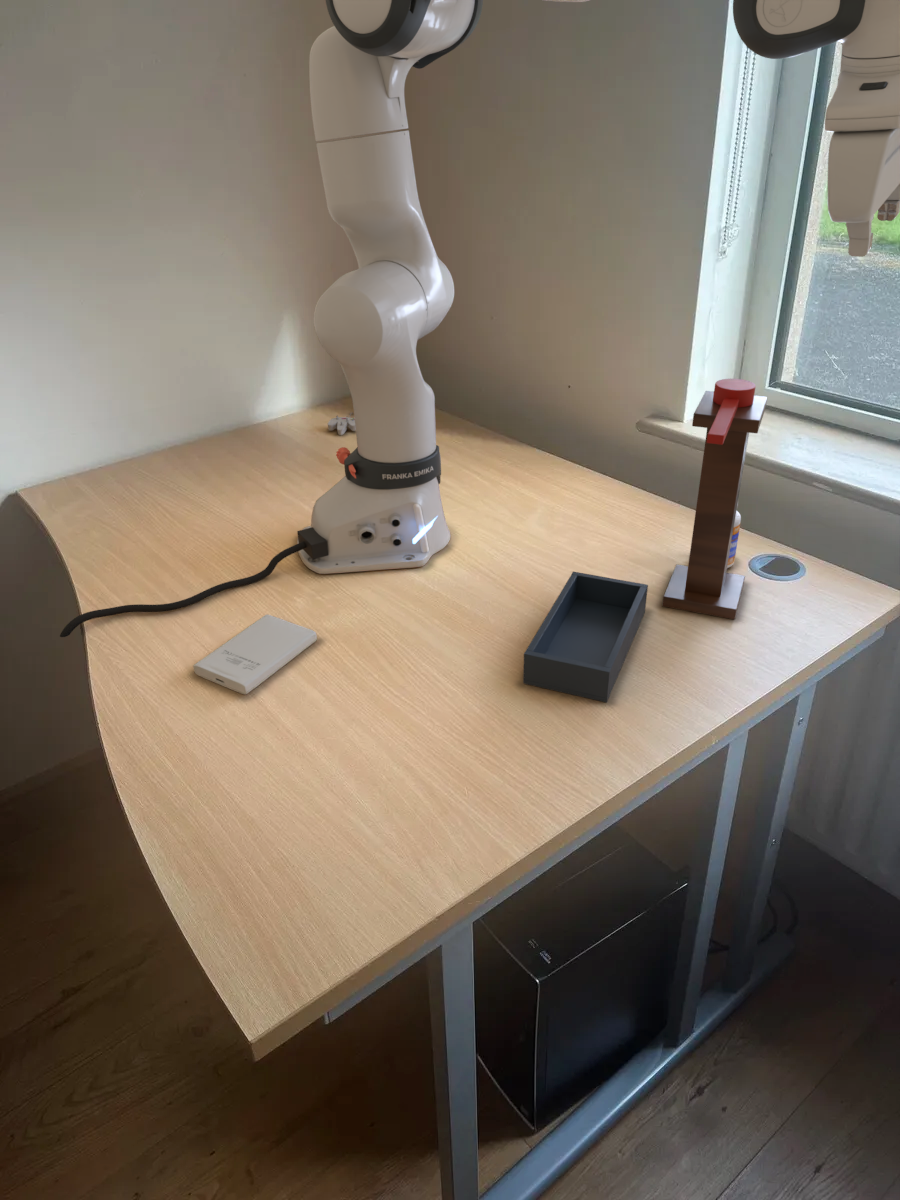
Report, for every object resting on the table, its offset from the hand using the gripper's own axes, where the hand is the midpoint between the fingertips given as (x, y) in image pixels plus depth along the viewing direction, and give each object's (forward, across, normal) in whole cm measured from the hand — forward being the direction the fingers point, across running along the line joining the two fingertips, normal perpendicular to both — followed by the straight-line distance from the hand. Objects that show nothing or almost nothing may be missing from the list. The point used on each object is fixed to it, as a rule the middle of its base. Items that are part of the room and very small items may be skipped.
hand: (874, 235), depth 88 cm
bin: (+36, +33, -19) cm, 53 cm away
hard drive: (+30, +57, -50) cm, 81 cm away
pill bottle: (+43, +6, -15) cm, 46 cm away
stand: (+41, +15, -12) cm, 45 cm away
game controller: (+42, -7, -95) cm, 104 cm away
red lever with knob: (+14, +15, -9) cm, 23 cm away
